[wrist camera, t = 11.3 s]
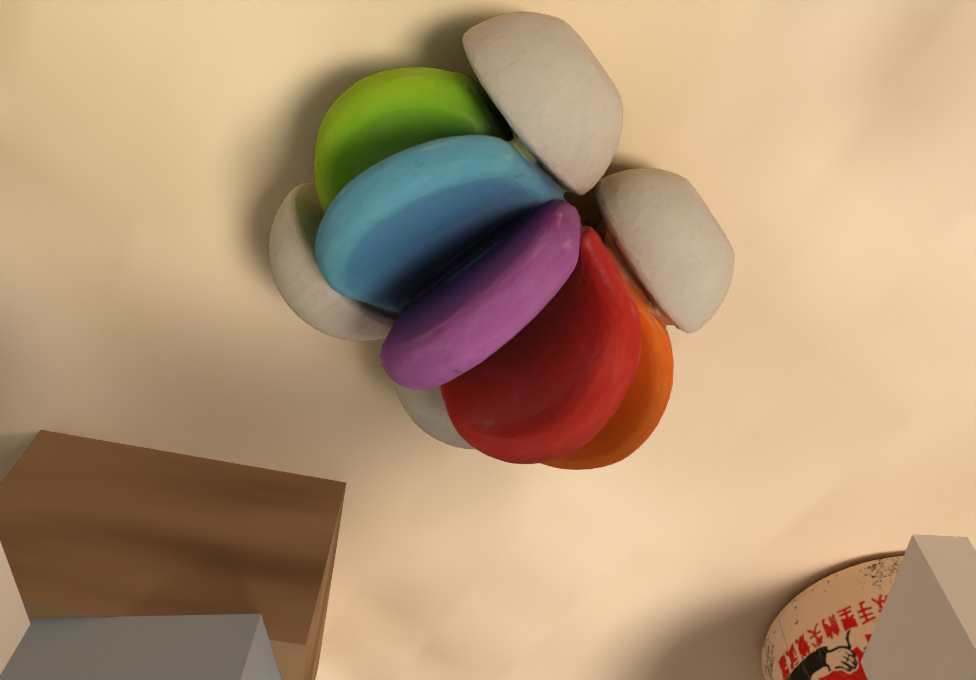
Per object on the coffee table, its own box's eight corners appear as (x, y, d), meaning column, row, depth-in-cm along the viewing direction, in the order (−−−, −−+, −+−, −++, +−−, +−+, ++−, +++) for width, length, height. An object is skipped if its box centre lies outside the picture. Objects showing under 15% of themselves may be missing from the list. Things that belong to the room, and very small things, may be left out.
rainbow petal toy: (492, 422, 25) (482, 632, 18) (237, 173, 21) (119, 333, 15) (753, 257, 21) (846, 443, 15) (511, -72, 18) (508, 1, 11)
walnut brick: (43, 426, 25) (-76, 585, 20) (347, 479, 26) (305, 645, 21) (63, 623, 30) (-29, 791, 25) (318, 662, 31) (279, 834, 26)
